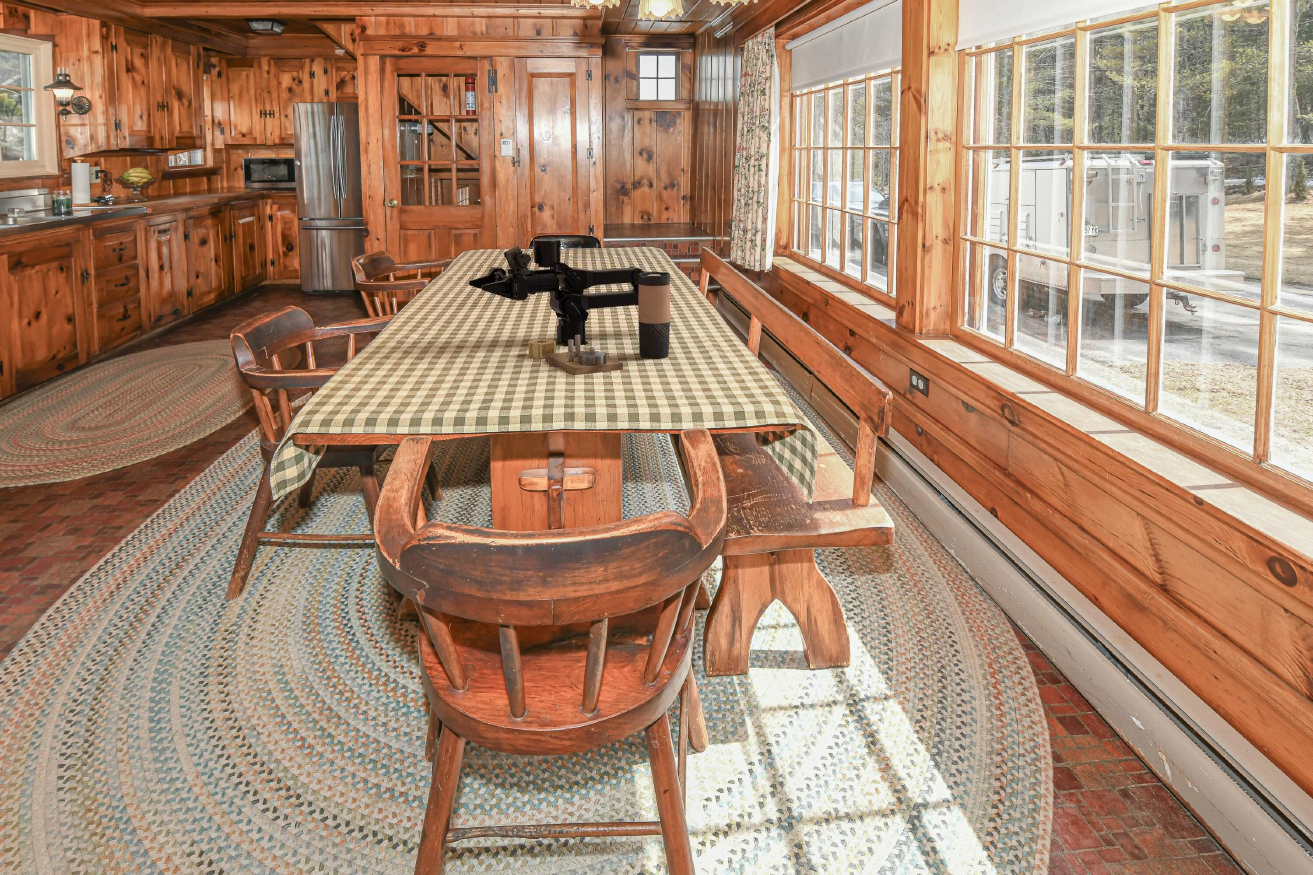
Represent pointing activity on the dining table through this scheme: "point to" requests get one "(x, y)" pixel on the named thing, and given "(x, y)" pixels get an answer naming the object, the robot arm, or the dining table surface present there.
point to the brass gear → (541, 348)
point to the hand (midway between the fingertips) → (475, 285)
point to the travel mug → (654, 314)
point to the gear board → (583, 360)
